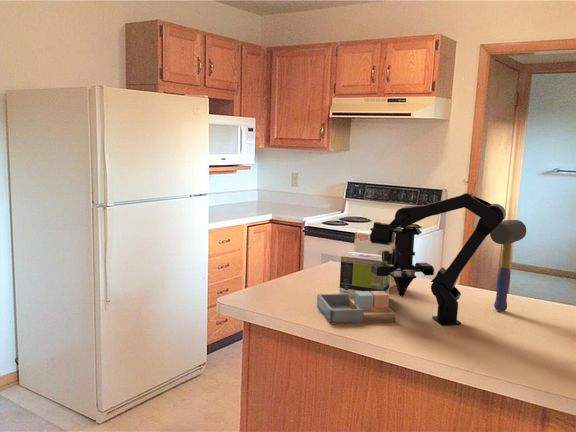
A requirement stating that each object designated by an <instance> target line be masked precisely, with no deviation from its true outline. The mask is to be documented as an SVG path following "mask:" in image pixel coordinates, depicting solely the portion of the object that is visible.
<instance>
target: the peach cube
mask: <svg viewBox="0 0 576 432" xmlns="http://www.w3.org/2000/svg"><path fill="white" fill-rule="evenodd" d="M370 293H371V294H372V295H374V296H373V307H374V308H388V307H389V302H390V301H389V298H390V294H389V295H388V294H387V293H386V292H384V291H370Z"/></svg>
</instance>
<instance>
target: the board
mask: <svg viewBox="0 0 576 432" xmlns="http://www.w3.org/2000/svg"><path fill="white" fill-rule="evenodd" d="M348 305H349V306H350V308H351V309H363V310H364V313H363V323H362V324H367V323H396V321H397V320H396V319H397V318H396V317H397V314H396V312H394V311H393V310H392V309H391V308H390V307H389V306H388V308H374V307H373V308H358V307H357V306H356V305H355V304H354V298H348Z"/></svg>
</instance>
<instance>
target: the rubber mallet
mask: <svg viewBox="0 0 576 432" xmlns="http://www.w3.org/2000/svg"><path fill="white" fill-rule="evenodd" d="M526 234H527V227H526V224H525V223H524V222H523V221H521V220H520V219H506V220H505V219H504V220H503V221H502V222H501V223H500V224H499V225H498V226H497V227H496V228H495V229H494V230H493V231H492V232H491V233H490V234H489V236H490V239H491V240H492V241H493V242H494V243H496V244H498V245H502V251H501V259H500V260H501V262H500V266H499V269H498V273H497V278H496V296H495V300H494V303H493V306H494V307H493V308H494V309H495V311H497V312H501V313H502V312H505V311H506V310H507V309H508V302H507V301H508V291H509V286H510V280H511V279H510V278H511V276H510V275H511V273H510V272H511V271H510V264H511V252H512V244H513V243H516V242H519V241H521V240H523V239H524V238H525V236H526Z"/></svg>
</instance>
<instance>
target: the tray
mask: <svg viewBox="0 0 576 432" xmlns="http://www.w3.org/2000/svg"><path fill="white" fill-rule="evenodd" d="M316 299H317V300H316V308H318V310H319V311H320V312H321V314H322V315H323V316H324V318H325V319H326V320H327V322H328V323H329V324H330V325H336V324H337V325H338V324H364V323H363V313H364V310H363V309H351V308H350V306H349V305H348V294H339V293H323V294H322V293H318V294H317V297H316Z"/></svg>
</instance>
